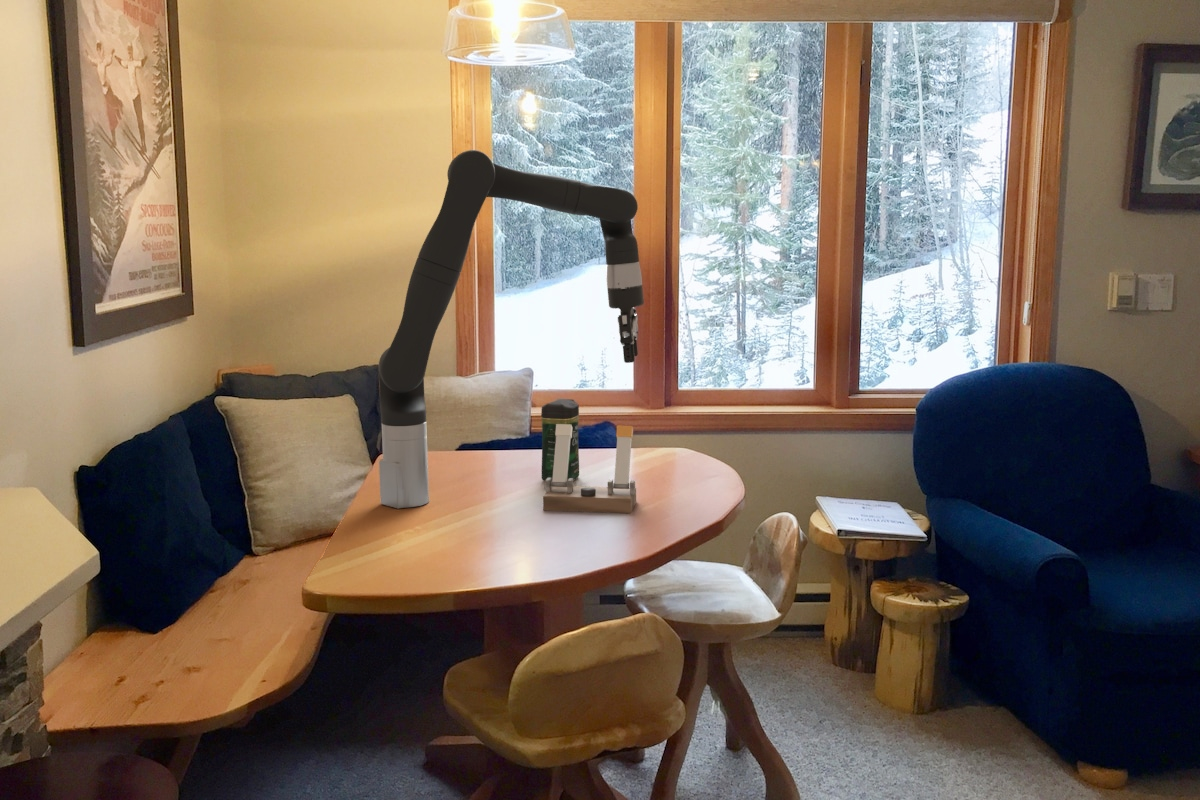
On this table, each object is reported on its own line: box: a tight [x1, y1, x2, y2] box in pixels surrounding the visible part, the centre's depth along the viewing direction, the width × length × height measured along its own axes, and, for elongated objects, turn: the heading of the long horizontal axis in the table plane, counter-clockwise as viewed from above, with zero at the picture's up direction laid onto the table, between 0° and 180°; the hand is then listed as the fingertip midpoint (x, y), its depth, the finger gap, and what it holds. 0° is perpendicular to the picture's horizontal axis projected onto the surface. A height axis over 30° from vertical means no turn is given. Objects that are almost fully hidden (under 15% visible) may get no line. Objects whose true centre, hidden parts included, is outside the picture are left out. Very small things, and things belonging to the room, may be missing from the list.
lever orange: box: [613, 424, 634, 489], centre depth 218 cm, size 2×3×13 cm, turn 81°
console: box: [542, 478, 637, 514], centre depth 217 cm, size 9×18×6 cm, turn 81°
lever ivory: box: [551, 424, 573, 487], centre depth 220 cm, size 2×3×13 cm, turn 81°
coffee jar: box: [540, 398, 580, 482], centre depth 239 cm, size 10×8×19 cm
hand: (631, 359), depth 227 cm, fingers open, 8 cm apart
